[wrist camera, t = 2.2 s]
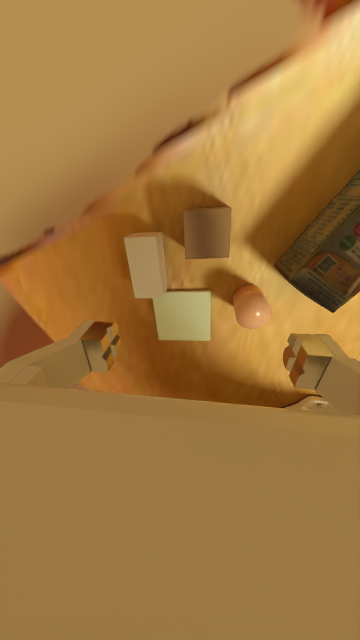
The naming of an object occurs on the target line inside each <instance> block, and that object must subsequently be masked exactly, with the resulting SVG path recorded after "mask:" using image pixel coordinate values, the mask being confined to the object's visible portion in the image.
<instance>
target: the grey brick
mask: <svg viewBox="0 0 360 640" xmlns="http://www.w3.org/2000/svg"><path fill="white" fill-rule="evenodd" d="M124 243H125V248H126V253H127V259H128V264H129V269H130V275H131V280H132V285H133V291H134V296H135V298H163V297H164V294H165V292H166V290H167V288H168V287H167V277H166V266H165V256H164V245H163V235H162V232H143V233H132V234H130V235H128V236H126V237H124Z"/></svg>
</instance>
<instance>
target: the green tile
mask: <svg viewBox="0 0 360 640" xmlns="http://www.w3.org/2000/svg"><path fill="white" fill-rule="evenodd" d="M152 299H153V306H154V312H155V319H156V326H157V332H158V339H159V340H189V341H210V319H211V290H192V291H166V292H165V294H164V297H163V298H152Z"/></svg>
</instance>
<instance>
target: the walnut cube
mask: <svg viewBox="0 0 360 640" xmlns="http://www.w3.org/2000/svg"><path fill="white" fill-rule="evenodd" d="M183 224H184V241H185V259H205V258H229V249H230V228H231V207H229V206H217V207H204V208H191V209H186V210H184V211H183Z"/></svg>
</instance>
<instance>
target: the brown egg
mask: <svg viewBox="0 0 360 640" xmlns="http://www.w3.org/2000/svg"><path fill="white" fill-rule="evenodd" d="M233 305H234V310H235V314H236V319H237V321H238V323H239V324H240V325H241V326H242V327H244V328H247V329H257V328H260V327H262V326H264V325H265V324H266V323H267V322H268V321H269V320H270V318H271V314H272V312H271V308H270V306H269V304H268V302H267V300H266V299H265V297H264V295H263V293H262V291H261V290H260V289H259V288H258V287H257V286H254V285H244V286H242V287H240V288H238V289H237V290H236V291H235V293H234V295H233Z"/></svg>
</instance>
